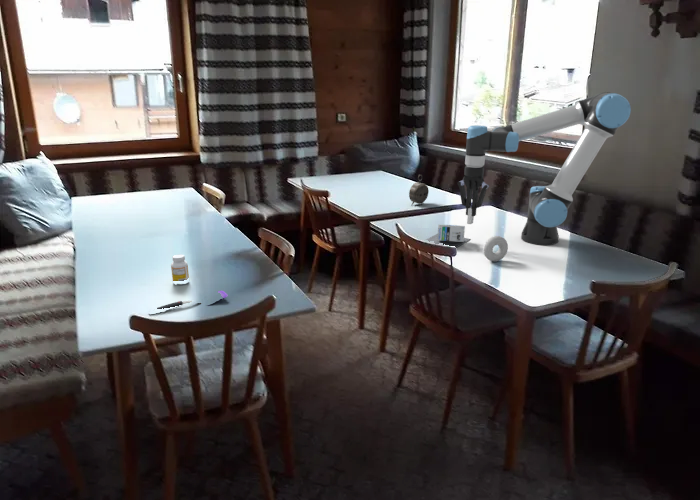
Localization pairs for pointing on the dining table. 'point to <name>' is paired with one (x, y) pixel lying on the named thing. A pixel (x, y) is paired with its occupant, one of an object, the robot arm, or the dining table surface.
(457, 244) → the mat
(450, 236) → the light bulb box
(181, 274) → the supplement bottle
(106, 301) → the dining table surface
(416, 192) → the alarm clock
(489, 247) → the donut
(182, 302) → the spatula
